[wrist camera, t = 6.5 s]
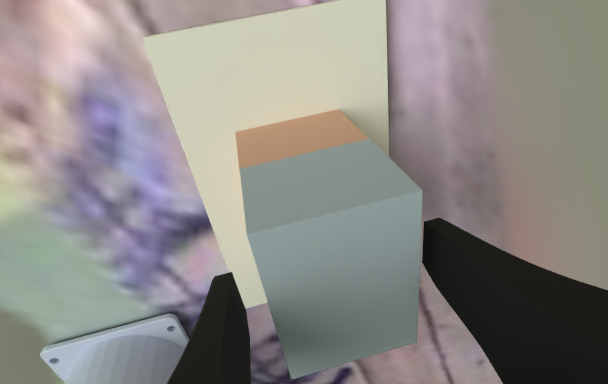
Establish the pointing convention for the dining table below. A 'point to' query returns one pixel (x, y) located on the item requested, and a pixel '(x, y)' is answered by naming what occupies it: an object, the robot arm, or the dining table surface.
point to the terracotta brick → (295, 137)
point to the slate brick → (336, 252)
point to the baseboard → (267, 96)
